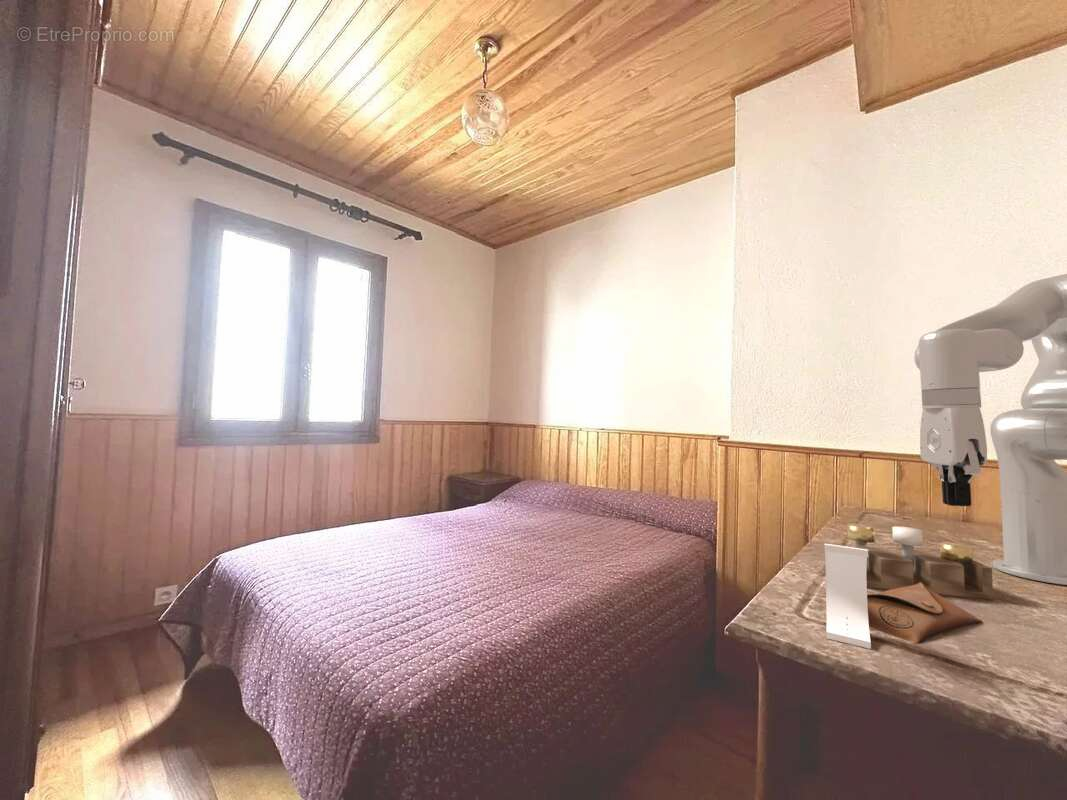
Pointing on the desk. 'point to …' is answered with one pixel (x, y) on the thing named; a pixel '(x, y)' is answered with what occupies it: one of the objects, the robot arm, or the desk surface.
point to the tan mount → (928, 573)
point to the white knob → (907, 540)
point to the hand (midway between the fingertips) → (956, 504)
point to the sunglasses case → (914, 613)
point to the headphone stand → (847, 595)
